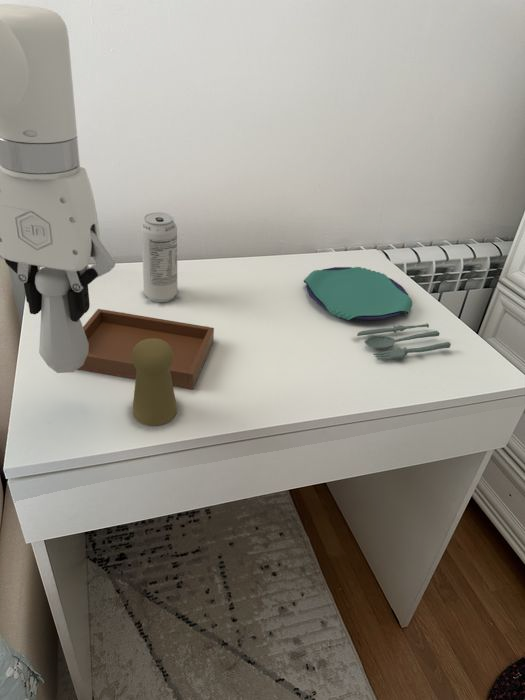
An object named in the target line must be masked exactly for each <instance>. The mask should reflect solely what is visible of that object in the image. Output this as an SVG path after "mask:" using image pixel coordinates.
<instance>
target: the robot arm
mask: <svg viewBox="0 0 525 700" xmlns="http://www.w3.org/2000/svg"><path fill="white" fill-rule="evenodd" d="M71 61H72V60H71V49H70V39H69V31H68V28H67V24H66V22H65V20H64V19H63V17H62V16H61V15H60V14H58V12H56V11H53V10H51V9H47V8H44V7H38V6H31V5H22V4H12V3H0V259H1V260H2V261H4V262H5V264H6V265H7V266H8V267H9V268H10V269H11V270H12V271H13V272H14V273H15V274H16V275H17V276H16V277H17V280H18V281H19V282H20V283H23V288H24V295H25V300H26V303H27V304H28V310H29V314H31V315H37V314H39V313H41V306H42V294H41V293H40V292H39V291H38V290H37V288H36V285H35V276H36V273H37V272H38V271H39V270H40V269H41V267H42V268H44V267H47V268H53V269H59V270H66V273H67V276H68V279H69V282H70V285H71V289H70V290H69V291H68V293H67V295H68V304H69V312H70V319H71V320H72V321H74V322H77V321H78V320H79V319H80V320H81V318H82V317H83V316H84V315H85V314H87V313H88V311H89V310H90V308H91V307H90V306H91V303H90V294H89V293H90V292H89V285H90V284H91V283H92V282H93V281H95V279H98V278H99V277H102V276H103V275H106V274H108V273H110V272H111V271H112V270H113V269H114V268H115V267H116V261H115V260H114V258H113V257H112V256H111V254H110V253H109V252H108V250H107V249H106V247H105V246H104V244H103V242H101V236H100V227H99V219H98V218H99V217H98V212H97V207H96V201H95V198H94V193H93V189H92V185H91V182H90V179H89V175H88V172H87V170H86V168H85V167H82V166H81V162H80V161H81V160H80V153H79V151H80V149H79V141H78V140H79V138H78V129H77V117H76V110H75V109H76V107H75V106H76V105H75V96H74V86H73V83H74V82H73V71H72V62H71ZM91 258H93V260H94V261H95V264H92V265H91V266H89V264H90V261H91Z"/></svg>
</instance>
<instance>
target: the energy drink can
mask: <svg viewBox="0 0 525 700" xmlns="http://www.w3.org/2000/svg"><path fill="white" fill-rule="evenodd" d="M143 219H144V220H143V221H142V224H141V226H140V231H141V232H140V234H141V236H140V237H141V254H142V255H141V257H142V274H143V275H142V279H143V292H144V295H145V296H146V297H147V298H148V300H150V301H152V302H154V303H167V302H170V301H172V300H173V299H174V298H175V296H176V295H177V294H178V226H177V225H176V223H175V221H174V216H173V215H171V214H169V213H165V212H150V213H147V214H146V215H145V216H144V218H143Z"/></svg>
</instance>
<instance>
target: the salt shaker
mask: <svg viewBox="0 0 525 700" xmlns="http://www.w3.org/2000/svg"><path fill="white" fill-rule="evenodd" d="M35 285H36V288H37V290H38V291H39V292H40V293H41V294H42V306H41V311H40V327H39V328H40V329H39V344H38V345H39V348H38V352H39V353H38V354H40V357H41V358H42V359H43V361H44V363H45V364H46V365H47V366H48V368H49V369H51V370H53V371H54V372H55V373H57V374H65V373H74V372H76V371H77V370H79V369H78V368H80V367H81V366H82V365H83V364H84V362H85V359H86V357H87V355H88V351H89V343H88V340H87V337H86V335H85V332H84V329H83V326H84V325H83V323H82V321H81V318H80V319H79V320H78V321H77V322H74V321H72V320H71V319H70V312H69V304H68V295H67V293H68V291H69V290H70V289H71V285H70V282H69V279H68V276H67V273H66V270H59V269H53V268H47V267H42V268H40V270H39V271H38V272H37V273H36V276H35Z"/></svg>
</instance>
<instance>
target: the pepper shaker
mask: <svg viewBox="0 0 525 700" xmlns="http://www.w3.org/2000/svg"><path fill="white" fill-rule="evenodd" d="M131 357H132V362H133V365H134V367H135V368H136V369H137V371H136V379H135V381H134V390H133V403H132V413H131V414H132V417H133V419H135V420H136V422H138V423H139V424H141V425H144V426H150V427H159V426H162V425H165V424H167V423H170V422H171V421H172V420H173V419H174V418H175V417H176V415H177V414H178V407H177V401H176V396H175V390H174V386H173V384H172V379H171V374H170V366H171V365H172V362H173V351H172V349H171V347H170V345H169V344H168V343H167V342H165V341H163V340H161V339H152V338H151V339H145V340H142V341H140V342H139V343H137V344H136V346H135V347H134V348H133V351H132V356H131Z"/></svg>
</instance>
